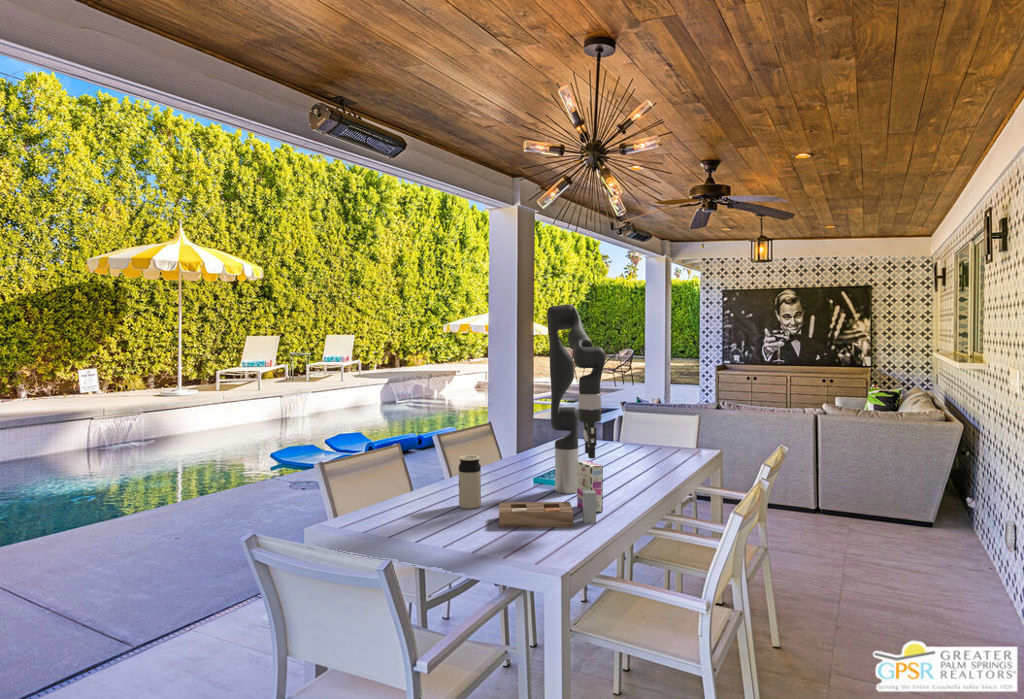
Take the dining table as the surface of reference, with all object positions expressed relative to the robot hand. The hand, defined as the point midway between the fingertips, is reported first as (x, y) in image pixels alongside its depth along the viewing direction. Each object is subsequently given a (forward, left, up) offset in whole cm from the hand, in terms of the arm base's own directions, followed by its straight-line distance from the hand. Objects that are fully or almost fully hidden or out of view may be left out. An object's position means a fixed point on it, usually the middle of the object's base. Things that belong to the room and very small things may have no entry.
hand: (590, 455), depth 218 cm
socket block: (0, -18, -22) cm, 29 cm away
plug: (0, 0, -22) cm, 22 cm away
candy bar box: (-15, +2, -22) cm, 27 cm away
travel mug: (-20, -41, -22) cm, 51 cm away
